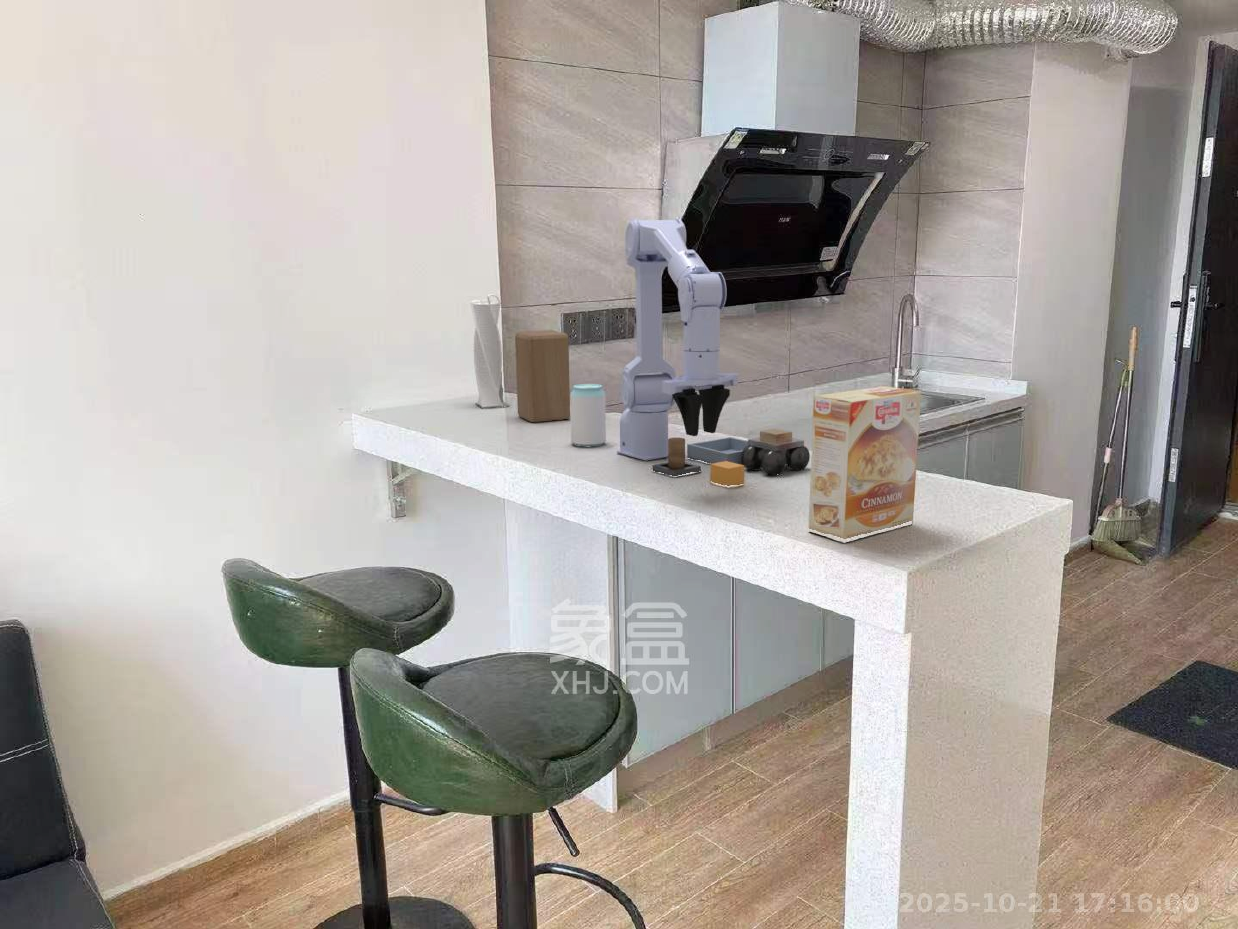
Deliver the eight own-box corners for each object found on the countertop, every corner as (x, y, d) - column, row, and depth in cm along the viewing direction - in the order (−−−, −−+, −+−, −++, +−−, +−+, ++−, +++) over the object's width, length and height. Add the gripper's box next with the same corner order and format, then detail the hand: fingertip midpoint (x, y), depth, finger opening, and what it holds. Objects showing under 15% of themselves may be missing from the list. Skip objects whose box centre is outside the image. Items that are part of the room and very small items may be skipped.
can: (611, 442, 199) (611, 384, 196) (596, 449, 193) (595, 388, 190) (581, 439, 202) (579, 382, 199) (565, 446, 195) (563, 387, 193)
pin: (664, 472, 173) (664, 438, 171) (677, 469, 175) (677, 436, 173) (675, 475, 170) (675, 441, 169) (688, 472, 172) (688, 439, 171)
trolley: (740, 470, 173) (740, 432, 172) (781, 462, 180) (782, 425, 178) (768, 477, 168) (769, 438, 166) (809, 468, 174) (811, 430, 173)
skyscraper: (511, 407, 242) (507, 293, 235) (479, 410, 239) (474, 294, 232) (502, 402, 249) (498, 292, 243) (471, 405, 246) (466, 293, 240)
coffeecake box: (845, 544, 131) (851, 401, 126) (805, 532, 136) (810, 394, 132) (915, 525, 139) (924, 390, 135) (876, 514, 145) (882, 384, 140)
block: (516, 416, 229) (513, 331, 224) (556, 413, 233) (554, 329, 229) (531, 423, 220) (528, 335, 216) (571, 420, 224) (570, 332, 220)
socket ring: (652, 471, 173) (652, 465, 173) (678, 466, 177) (678, 460, 176) (674, 477, 168) (674, 471, 168) (700, 472, 172) (700, 466, 172)
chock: (710, 484, 164) (710, 464, 164) (725, 480, 166) (726, 460, 166) (728, 489, 161) (728, 468, 160) (743, 485, 163) (744, 465, 162)
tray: (687, 458, 183) (687, 444, 182) (730, 451, 189) (730, 436, 189) (727, 469, 174) (727, 453, 174) (770, 460, 181) (771, 445, 180)
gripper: (683, 355, 148) (682, 443, 151) (751, 348, 156) (750, 431, 159) (654, 351, 153) (654, 436, 156) (722, 345, 162) (720, 425, 165)
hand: (700, 433), depth 158 cm, fingers open, 3 cm apart
